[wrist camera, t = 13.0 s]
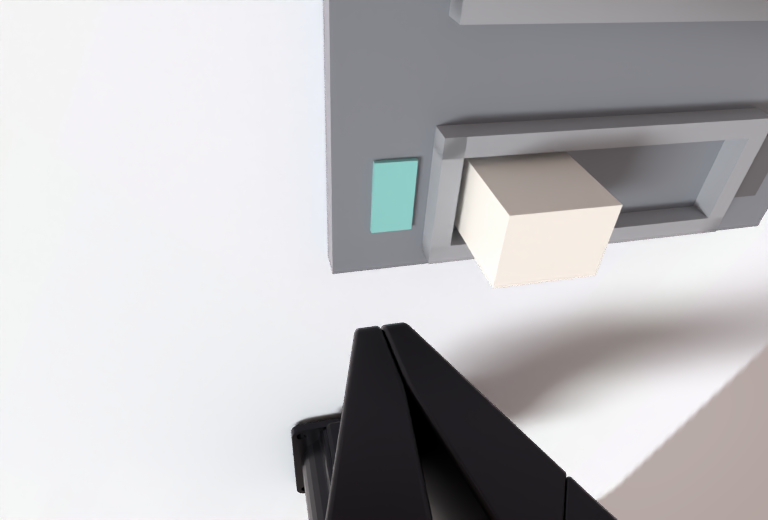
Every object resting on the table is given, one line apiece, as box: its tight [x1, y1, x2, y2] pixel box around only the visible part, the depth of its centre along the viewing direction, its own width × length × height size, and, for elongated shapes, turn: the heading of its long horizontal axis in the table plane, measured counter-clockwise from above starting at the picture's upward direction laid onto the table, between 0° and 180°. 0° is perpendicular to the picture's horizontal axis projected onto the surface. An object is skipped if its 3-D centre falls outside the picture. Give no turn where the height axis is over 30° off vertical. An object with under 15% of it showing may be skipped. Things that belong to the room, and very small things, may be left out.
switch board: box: [323, 0, 768, 274], centre depth 19 cm, size 16×21×2 cm
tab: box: [454, 151, 623, 288], centre depth 19 cm, size 3×4×4 cm
